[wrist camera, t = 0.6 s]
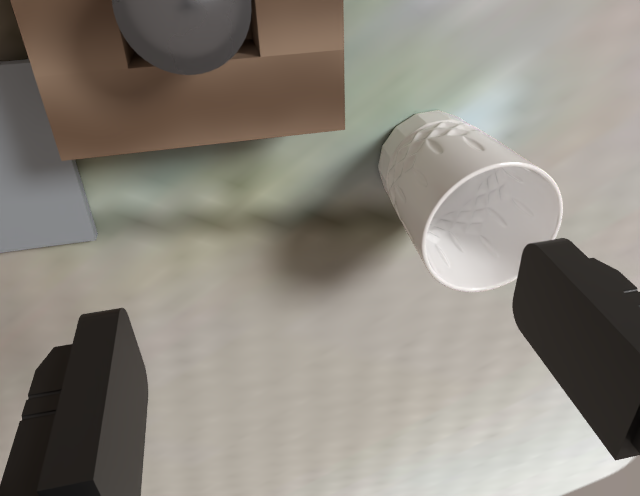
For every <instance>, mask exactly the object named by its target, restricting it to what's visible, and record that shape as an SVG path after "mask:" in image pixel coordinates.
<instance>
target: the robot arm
mask: <svg viewBox="0 0 640 496" xmlns="http://www.w3.org/2000/svg"><path fill="white" fill-rule="evenodd" d="M513 314H514V318H515V321H516V324H517V326H518V328H519V330H520V331H521V333H522V334H523V335H524V337H525V338H526V339H527V341H528V342H529V343H530V345H531V346H532V348H533V349H534V350H535V352H536V353H537V354H538V356H539V357H540V358H541V360H542V361H543V363H544V364H545V365H546V367H547V368H548V369H549V371H550V372H551V373H552V375H553V376H554V378H555V379H556V380H557V382H558V383H559V384H560V386H561V387H562V388H563V390H564V391H565V392H566V394H567V395H568V397H569V398H570V399H571V401H572V402H573V403H574V405H575V406H576V407H577V409H578V410H579V412H580V413H581V414H582V416H583V417H584V418H585V420H586V421H587V422H588V424H589V425H590V427H591V428H592V429H593V431H594V432H595V433H596V435H597V436H598V437H599V439H600V440H601V442H602V443H603V444H604V446H605V447H606V448H607V450H608V451H609V452H610V454H611V455H612V456H613V458H614V459H615V460H619V459H624V458H628V457H633V456H637V455H640V292H638V291H637V287H636V286H635V285H633V284H632V283H631V282H630V281H629V280H628V279H627V278H626V277H625V276H624V275H622V274H621V273H620V272H619V271H618V270H616V269H614V268H612V267H610V266H608V265H606V264H604V263H602V262H600V261H598V260H596V259H595V258H590V259H589V258H588V257H587V256H586V255H585V254H584V253H583V252H581V251H580V250H579V249H578V248H577V247H576V246H575V245H574V244H573V243H572V242H571V241H570V240H568V239H565V238H560V239H554V240H548V241H542V242H535V243H529V244H527V245H526V246H525V248H524V250H523V252H522V257H521V262H520V267H519V272H518V277H517V282H516V287H515V292H514V297H513ZM28 397H29V399H28V400H26V403H25V406H24V410H23V413H22V421H20V423H19V426H18V429H17V432H16V436H15V439H14V442H13V445H12V449H11V452H10V455H9V458H8V462H7V465H6V468H5V471H4V475H3V478H2V481H1V484H0V496H141V484H142V470H143V457H144V444H145V431H146V418H147V404H148V382H147V375H146V370H145V365H144V362H143V359H142V356H141V353H140V350H139V347H138V344H137V341H136V338H135V335H134V332H133V329H132V326H131V323H130V320H129V317H128V314H127V312H126V310H125V309H124V308H119V309H112V310H106V311H100V312H94V313H88V314H82V315H81V316H80V318H79V321H78V324H77V329H76V333H75V337H74V341H73V344H70V345H64V346H58V347H54V348H53V349H52V351H51V352H50V353H49V354H48V356H47V357H46V358H45V359H44V361H43V362H42V363H41V364H40V366H39V367H38V368H37V369H36V371H35V374H34V377H33V380H32V384H31V387H30V390H29V393H28Z"/></svg>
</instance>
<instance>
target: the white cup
mask: <svg viewBox="0 0 640 496" xmlns="http://www.w3.org/2000/svg"><path fill="white" fill-rule="evenodd" d="M378 169H379V173H380V176H381V180H382V183H383V186H384V188H385V190H386V192H387V194H388V195H389V198H390V201H391V203H392V205H393V207H394V209H395V211H396V213H397V214H398V217H399V219H400V221H401V223H402V225H403V227H404V228H405V230H406V232H407V234H408V235H409V237H410V239H411V241H412V243H413V244H414V246H415V248H416V250H417V251H418V253H419V255H420V257H421V259H422V260H423V262H424V264H425V266H426V268H427V270H428V271H429V273H430V274H431V275H432V276H433V277H434V278H435V279H436V280H437V281H438V282H439V283H441V284H442V285H444V286H446V287H448V288H451V289H454V290H457V291H463V292H481V291H487V290H491V289H495V288H498V287H501V286H503V285H506V284H508V283H510V282H512V281H514V280H515V279H517V277H518V272H519V267H520V262H521V257H522V252H523V250H524V248H525V246H526V245H527V244H529V243H535V242H542V241H548V240H554V239H555V238H556V235H557V233H558V231H559V228H560V224H561V220H562V214H563V203H562V197H561V193H560V190H559V188H558V186H557V184H556V183H555V181H554V180H553V179H552V177H551V176H550V175H549V174H547V173H546V172H545V171H544V170H542V169H540V168H539V167H537V166H536V165H534V164H533V163H531V162H530V161H528V160H527V159H525V158H524V157H522V156H521V155H519V154H518V153H516V152H515V151H513V150H512V149H510V148H509V147H507V146H506V145H504V144H503V143H501V142H500V141H498V140H497V139H495V138H493V137H492V136H490V135H488V134H486V133H485V132H483V131H482V130H480V129H478V128H476V127H475V126H473V125H470V124H468V123H467V122H465V121H464V120H462V119H461V118H459V117H458V116H455V115H452V114H449V113H446V112H443V111H440V110H435V111H429V112H423V113H417V114H415V115H413V116H411V117H410V118H408V119H407V120H405V121H404V122H402V123H401V124H399V125H397V126H396V127H395V128H394V130H393V131H392V133H391V134H390V136H389V137H388V138H387V140H386V141H385V143H384V144H383V146H382V150H381V155H380V160H379V165H378Z"/></svg>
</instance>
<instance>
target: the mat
mask: <svg viewBox="0 0 640 496" xmlns="http://www.w3.org/2000/svg"><path fill="white" fill-rule="evenodd" d="M97 234H98V233H97V230H96V227H95V223H94V220H93V217H92V213H91V210H90V207H89V204H88V200H87V197H86V194H85V190H84V187H83V184H82V181H81V177H80V174H79V171H78V167H77V164H76V161H75V160H66V161H61V158H60V155H59V151H58V148H57V145H56V142H55V139H54V136H53V133H52V130H51V126H50V123H49V120H48V117H47V114H46V111H45V108H44V104H43V101H42V98H41V95H40V92H39V89H38V86H37V83H36V79H35V76H34V73H33V70H32V67H31V64H30V61H29V59H26V60H14V61H2V62H0V253H2V252H9V251H17V250H25V249H32V248H40V247H47V246H55V245H62V244H70V243H78V242H85V241H93V240H96V238H97Z"/></svg>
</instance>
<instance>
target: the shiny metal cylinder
mask: <svg viewBox="0 0 640 496" xmlns="http://www.w3.org/2000/svg"><path fill="white" fill-rule="evenodd" d="M112 6H113V12H114V15H115V18H116V22H117V24H118V26H119V29H120V31H121V33H122V34H123V36H124V38H125V39H126V41H127V42H128V43H129V45H130V46H131V47H132V48H133V49H134V51H135V52H136V53H137V54H138V55H140V56H141V57H142V58H143V59H144V60H146V61H147V62H149V63H150V64H152V65H153V66H155V67H157V68H159V69H162V70H164V71H167V72H170V73H175V74H181V75H197V74H203V73H206V72H210V71H212V70H214V69H217V68H219V67H220V66H222V65H223V64H225V63H226V62H227V61H229V60H230V59H231V58H232V57H233V56H234V55H235V54H236V53H237V51H238V50H239V49H240V47H241V46H242V44H243V42H244V40H245V38H246V36H247V33H248V30H249V26H250V21H251V11H252V10H251V0H112Z"/></svg>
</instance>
